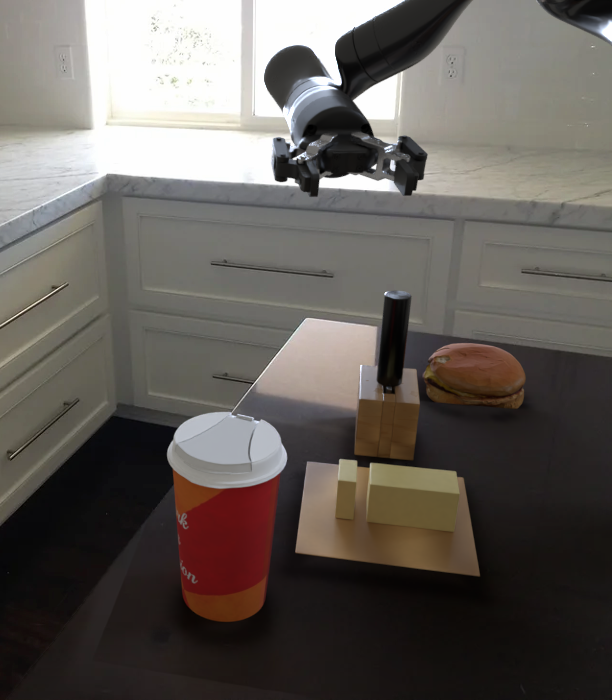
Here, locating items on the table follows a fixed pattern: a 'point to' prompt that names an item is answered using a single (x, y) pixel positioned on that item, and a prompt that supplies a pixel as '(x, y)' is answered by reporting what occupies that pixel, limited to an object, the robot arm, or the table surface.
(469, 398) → the burger
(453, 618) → the table surface
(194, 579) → the paper cup
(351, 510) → the butter pat
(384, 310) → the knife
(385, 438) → the knife block
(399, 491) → the butter
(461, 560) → the board
